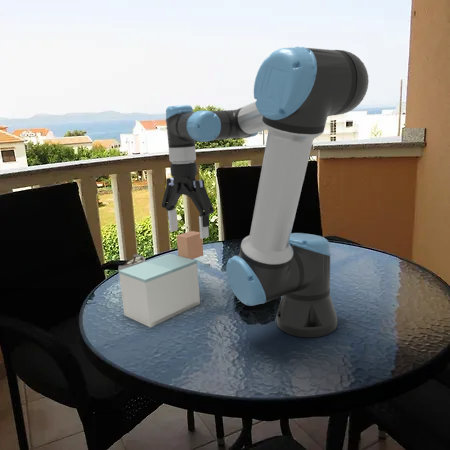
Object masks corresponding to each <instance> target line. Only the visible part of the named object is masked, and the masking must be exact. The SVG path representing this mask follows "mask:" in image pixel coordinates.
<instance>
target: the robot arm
mask: <svg viewBox="0 0 450 450" xmlns="http://www.w3.org/2000/svg"><path fill="white" fill-rule="evenodd" d="M369 83H370V82H369V74H368V70H367V67H366V65H365V63H364V62H363V61H362V60H361V58H360V57H358V56H357V55H356V54H354V53H352V51H351V52H350V51H348V50H345V49H344V50H342V49H323V48H314V47H305V46H294V47H282V48H278V49H276V50H274V51H273V52H271V54H269V55H268V56H267V57H266V58H265V59H264V60H263V61H262V63H261V65H260V66H259V68H258V71H257V73H256V76H255V80H254V84H253V98H254V100H256V101H254V102H251V103H249V104H246V105H244V106H242V107H239V108H237V109H231V110H230V109H229V110H197V111H194V110H193V107H192V106H191V105H188V104H185V105H171V106H167V107H166V109H165V123H166V125H165V126H166V134H167V144H168V157H169V162H171V163H170V167H169V169H170V176H171V177H167V178H166V182H165V183H166V185H165V186H166V187H165V190H164V194H163V198H162V201H161V202H162V203H161V207H162V208H165V210H166V211H167V212H166V213H167V220H168V224H169V225H168V227H169V228H168V229H169V232H170V233H172V232H175V231H178V230H179V225H178V213H177V212H178V211H177V209H176V207H177V204H178V202H179V201H180V200H179V199H180V198H181V196H182V195H184V196H188V198H190V199H191V201H192V203H193V204H194V206H195V207H196V209H197V210H198V212H199V216H198V222H199V223H198V224H199V233H200V238H201V239H202V240H203V239H206V238H209V237H210V234H209V233H210V232H209V226H210V215H211V214H215V209H214V206H213V204H212V201H211V200H210V197H209V194H208V192H207V189H206V186H205V185H206V184H205V180H204V179H198V180H197V179H196V176H197V174H198V165H197V162H196V160H197V155H196V154H197V153H196V151H197V150H196V142H199V143H203V142H204V143H205V142H206V143H207V142H212V141H216V140H229V139H230V140H231V139H241V138H242V139H248V138H251V137H252V138H253V137H255V136H257V135H258V134H259V133H261V132H263V131H266V130H267V132H268V133H267V136H266V143H265V148H264V155H263V160H262V165H261V171H260V177H259V181H258V186H257V193H256V198H255V204H254V209H253V214H252V221H251V226H250V232H249V235H247V236H245V237H244V238H243V239H242V240H241V243H240V249H239V254H238V255H233V256H232V257H230V258H229V259H228V260H227V263H226V266H225V267H226V269H225V270H226V271H225V272H226V278H227V280H228V284H229V286H230V288H231V291H232V292H233V293H234V295H235V297H236V298H237V300H239V302H241V303H242V304H244V305H245V306H249V307H250V306H257V305H260V304H262V305H263V304H265V303H267V302H270V301H272V300H275V299H278V298H280V297H281V299H280V303H279V304H278V305H279V306H278V308H277V312H276V325H277V328H279V329H280V331H282V332H284V333H286V334H287V335H291V336H295V337H297V338H298V337H299V338H318V337H319V338H320V337H323V336H327V335H329V334H331V333H333V332H334V331H335V330H336V329H337V327H338V315H337V312H336V309H335V306H334V304H333V301H332V300H333V299H332V298H331V256H332V254H331V248H330V247H331V246H330V242H329V240H328V239H327V238H325V237H324V236H321V235H316V234H310V233H304V232H292V230H293V226H294V222H295V219H296V213H297V209H298V206H299V201H300V197H301V192H302V189H303V188H302V187H303V184H304V181H305V176H306V172H307V167H308V163H309V158H310V154H311V150H312V147H313V142H314V140H315V139H317V138H318V137H320V136H321V135H322V134H324V131H325V127H326V124H327V120H328V117H330V116H331V117H332V116H340V115H344V114H347V113H349V112H351V111H354V109H355V108H357V107H358V106H359V105H360V104H361V103H362V102H363V100H364V98H365V97H366V95H367V92H368V89H369Z"/></svg>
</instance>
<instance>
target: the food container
mask: <svg viewBox="0 0 450 450" xmlns="http://www.w3.org/2000/svg"><path fill="white" fill-rule="evenodd" d="M143 262H146V258H145V257H144V256H143V255H142V254H133V257H132V258H131V259H130V260H127V261H126V262H125V263H124V264H123V265H118V267H117V268H118V269H117V270H118V272H119V271H120V270H122V269H125V268H128V267H131V266H134V265H137V264H140V263H143Z"/></svg>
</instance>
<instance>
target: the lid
mask: <svg viewBox="0 0 450 450" xmlns="http://www.w3.org/2000/svg"><path fill="white" fill-rule="evenodd" d="M176 244H177V255H176V254H173V253H168V254H165V255H161V256H158V257H156V258H152V259H150V260H147V261H146V260H145V261H146V262H143V263H140V264H137V265H134V266H131V267H128V268H125V269H122V270H120V271H119V270H118V275H119V274H122V275H125V276H128V277H130V278H133V279H136V280H139V281H142V282H144V283H146V282H149V281H152V280H154V279H157V278H159V277H162V276H165V275H167V274H170V273H173V272H175V271H178V270H181V269H183V268H186V267H188V266H191V265H194V264H196V263H197V264H198V262H197V261H198V260H195V259H197V258H200V257H203V256H204V246H203V245H204V244H203V239H201V238H200V231H193V230H191V231H187V232H184V233H180V234H177V235H176Z"/></svg>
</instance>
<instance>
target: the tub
mask: <svg viewBox="0 0 450 450" xmlns="http://www.w3.org/2000/svg"><path fill="white" fill-rule="evenodd" d="M198 271H199V270H198V262H197V263H196V264H194V265H191V266H188V267H186V268H183V269H181V270H178V271H175V272H173V273H170V274H167V275H165V276H162V277H159V278H157V279H154V280H152V281H149V282H146V283H144V282H142V281H139V280H136V279H133V278H130V277H128V276H125V275H122V274H119V273H118V276H119V283H120V290H121V291H120V292H121V297H122V298H121V299H122V300H121V301H122V304H123V305H122V306H123V315H124V316H125V317H127V318H129V319H132V320H133V321H136V322H138V323H140V324H142V325H144V326H146V327H148V328H153V327H155V326H156V325H159V324H161V323H163V322H165V321H168V320H169V319H171V318H174V317H176V316H177V315H180V314H182V313H184V312H186V311H188V310H191V309H192V308H194V307H197V306H199V305H201V298H200V297H201V296H200V285H199V272H198Z"/></svg>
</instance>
